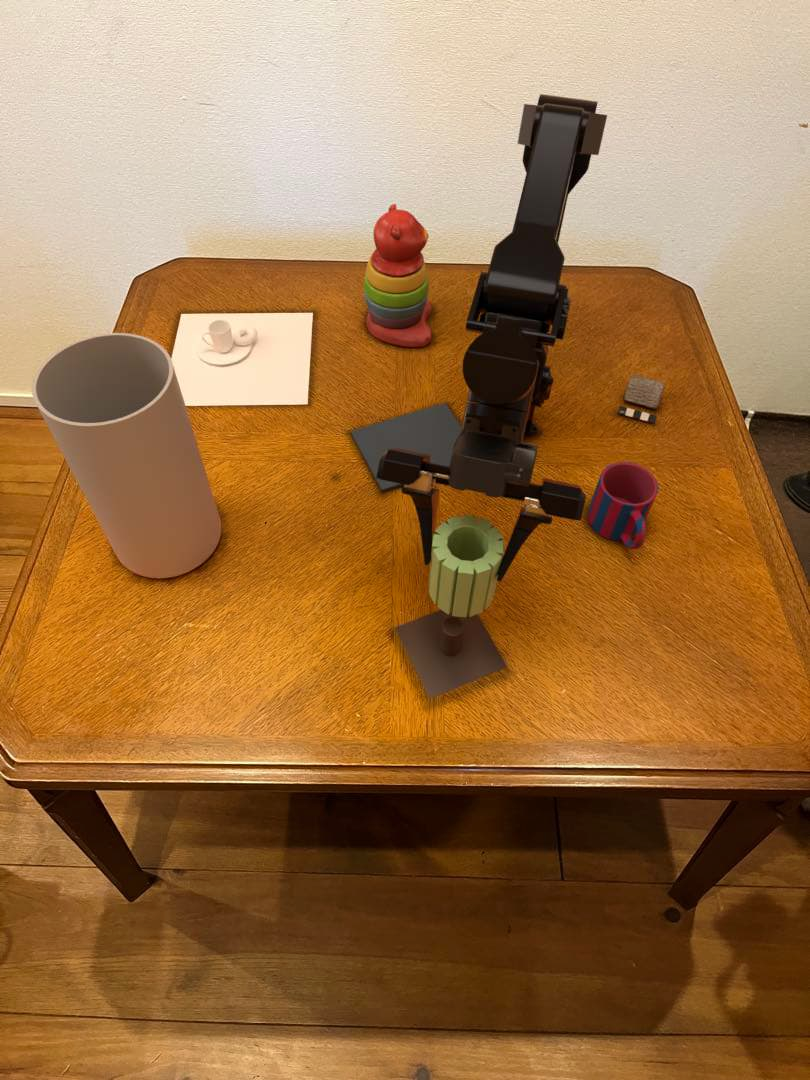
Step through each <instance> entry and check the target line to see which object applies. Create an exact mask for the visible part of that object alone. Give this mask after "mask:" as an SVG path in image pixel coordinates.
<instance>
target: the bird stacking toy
mask: <svg viewBox="0 0 810 1080" xmlns="http://www.w3.org/2000/svg"><path fill="white" fill-rule="evenodd" d="M428 240H429V233H428V231H427V229H426V228H425V226H423V224H421V223H420V221H419V220H417V219H416V217H415V216H414V215H413V214H412V213H411V212H410V211H408V210H404V209H397V204H396V203H392V204H391V205H390V206H389V207H388V210H387V212H385V213H383V215H381V216H379V218H377V220H376V222H375V224H374V227H373V241H374V246H375V249H374V251H373V252H372V254H371V255H370V257H369V259H368V261H367V265H366V268H365V273H364V278H363V279H364V280H363V294H364V299H365V304H366V307H367V310H368V312H367V316H366V321H365V322H366V324H365V325H366V328H367V331H368V332H369V333H370V334H371V335H372V336H373V337H374V338H376V339H378V340H380V341H383V342H384V343H387V344H391V345H394V346H398V347H405V348H422V347H426V346H427V345H429V344H430V343H431V342H432V338H433V334H432V330H431V328H430V326H429V325H428V324H427V321H426V320H427V319H428V318H429V317H430V316H431V314H432V311H433V308H432V304H431V302H430V301H429V300H428V297H429V291H430V289H429V288H430V283H429V276H428V272H427V266H426V263H425V258H424V255H423V253H422V251H423V250H424V249H425V247H426V245H427V243H428Z"/></svg>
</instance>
